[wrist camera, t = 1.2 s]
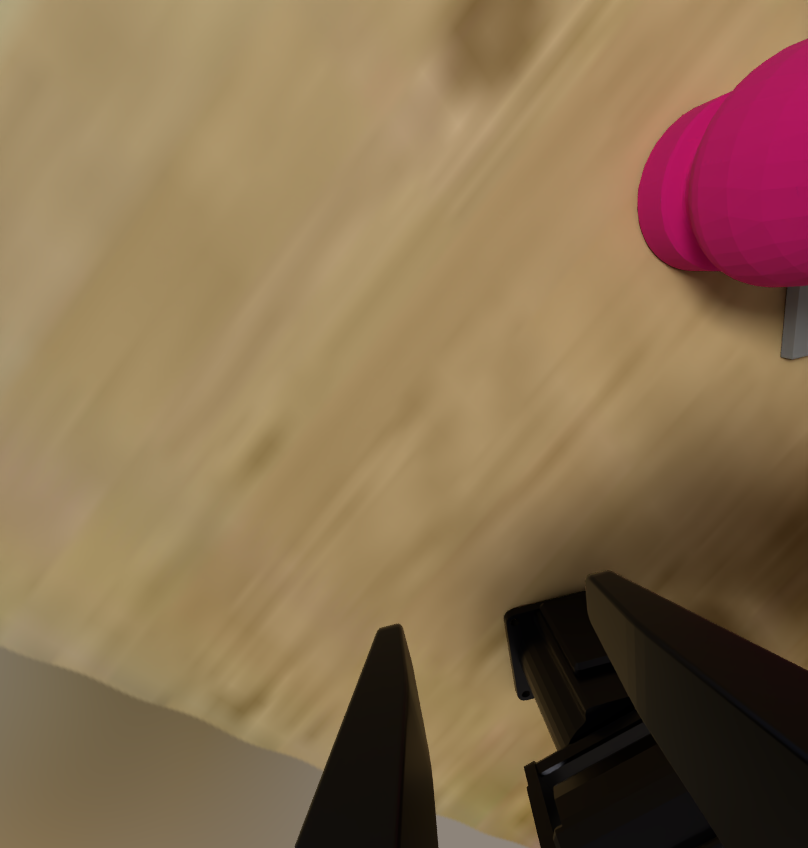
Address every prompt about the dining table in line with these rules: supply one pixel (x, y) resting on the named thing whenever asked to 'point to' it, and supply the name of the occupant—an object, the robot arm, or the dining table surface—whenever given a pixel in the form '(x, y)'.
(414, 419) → the dining table surface
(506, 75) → the dining table surface
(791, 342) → the mat
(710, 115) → the pepper mill
